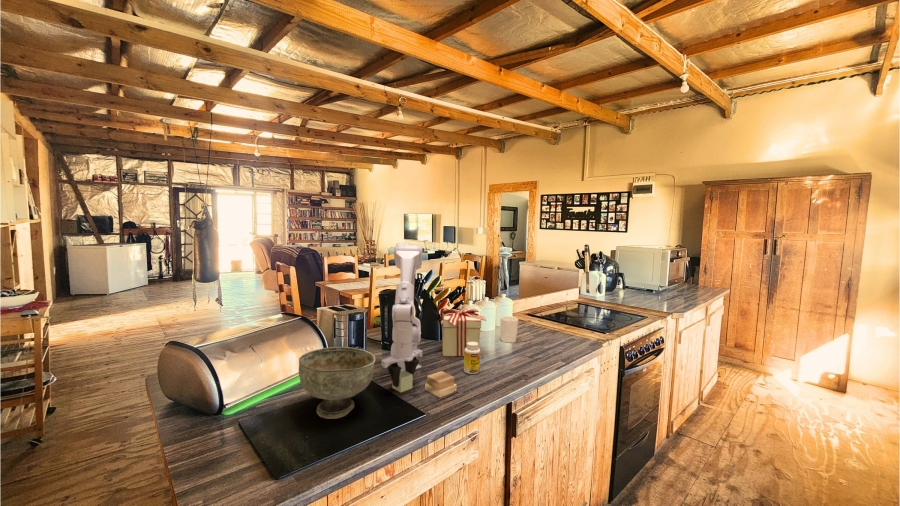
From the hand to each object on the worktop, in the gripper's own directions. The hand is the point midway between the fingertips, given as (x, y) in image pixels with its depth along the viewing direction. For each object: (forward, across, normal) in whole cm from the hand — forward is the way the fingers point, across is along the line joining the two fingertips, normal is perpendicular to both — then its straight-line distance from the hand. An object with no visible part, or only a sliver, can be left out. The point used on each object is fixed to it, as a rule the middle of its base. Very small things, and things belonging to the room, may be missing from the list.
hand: (402, 383), depth 116 cm
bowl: (+2, -21, +2) cm, 21 cm away
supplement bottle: (+2, +26, -6) cm, 27 cm away
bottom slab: (+2, +8, -9) cm, 12 cm away
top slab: (0, +8, -9) cm, 12 cm away
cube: (+1, 0, 0) cm, 1 cm away
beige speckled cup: (+2, +64, +6) cm, 64 cm away
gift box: (+2, +38, +10) cm, 39 cm away
